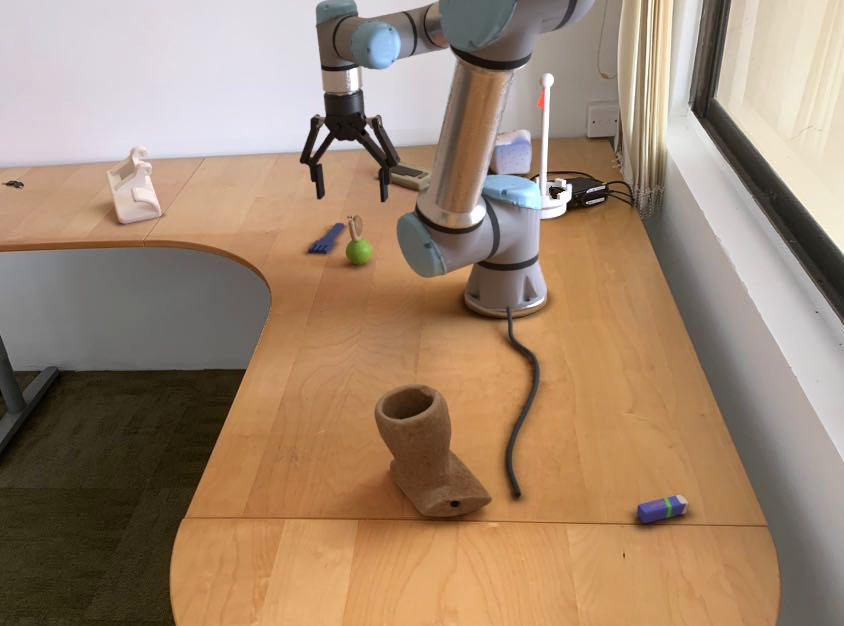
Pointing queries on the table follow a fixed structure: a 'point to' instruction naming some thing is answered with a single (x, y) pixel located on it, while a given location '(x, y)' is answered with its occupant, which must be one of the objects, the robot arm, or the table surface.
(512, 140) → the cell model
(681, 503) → the eraser
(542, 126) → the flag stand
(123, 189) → the white angular piece
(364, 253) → the snail figurine
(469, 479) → the clay pipe
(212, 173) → the table surface
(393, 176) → the computer
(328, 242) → the fork
